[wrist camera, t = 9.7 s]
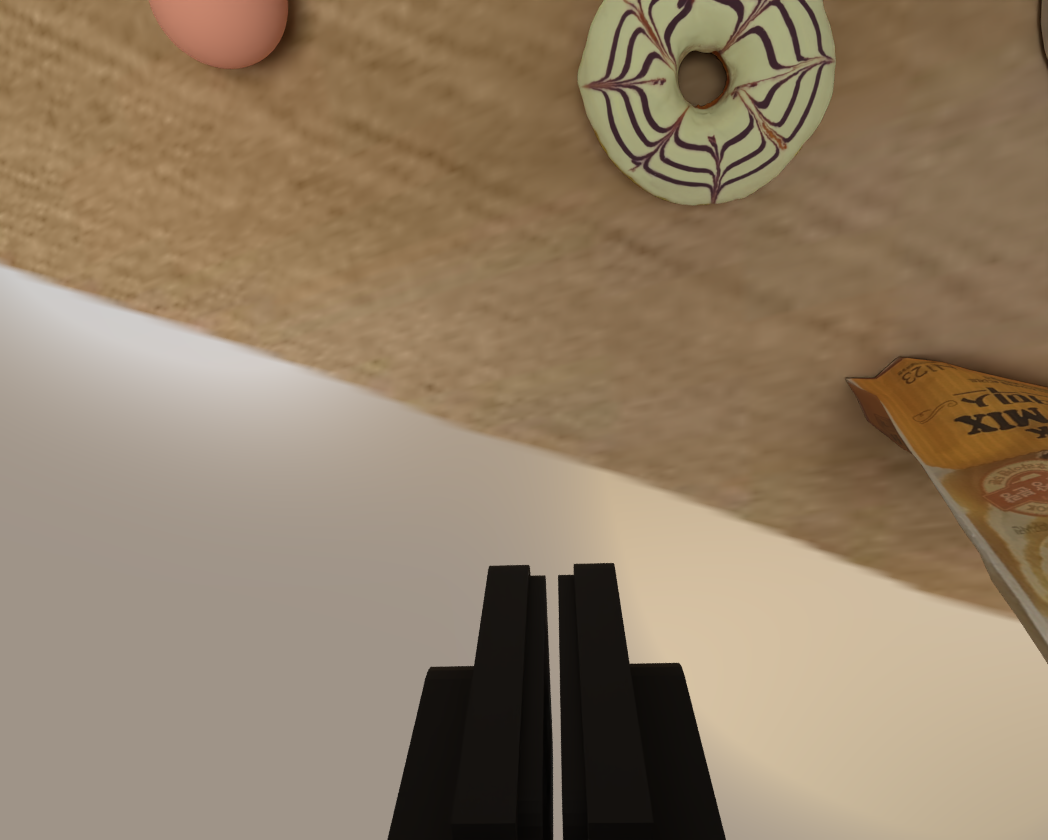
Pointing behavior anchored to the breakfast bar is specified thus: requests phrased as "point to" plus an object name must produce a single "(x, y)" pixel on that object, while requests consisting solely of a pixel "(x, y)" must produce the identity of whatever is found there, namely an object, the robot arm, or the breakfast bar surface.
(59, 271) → the breakfast bar surface
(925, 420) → the pancake mix bag
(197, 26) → the pink smooth round ball
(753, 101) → the decorated donut
